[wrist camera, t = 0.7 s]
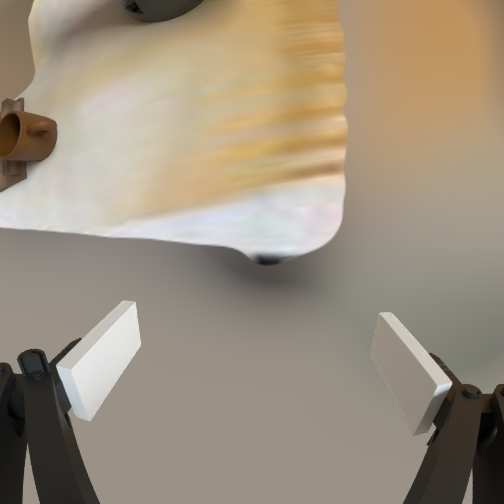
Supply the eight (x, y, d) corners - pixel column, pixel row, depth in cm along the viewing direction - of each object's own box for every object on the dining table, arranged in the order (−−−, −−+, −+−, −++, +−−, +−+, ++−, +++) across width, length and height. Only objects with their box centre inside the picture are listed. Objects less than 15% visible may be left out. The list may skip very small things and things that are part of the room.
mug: (80, 107, 36) (45, 94, 26) (78, 153, 37) (40, 148, 28) (31, 123, 36) (-5, 117, 27) (29, 164, 38) (-8, 164, 28)
